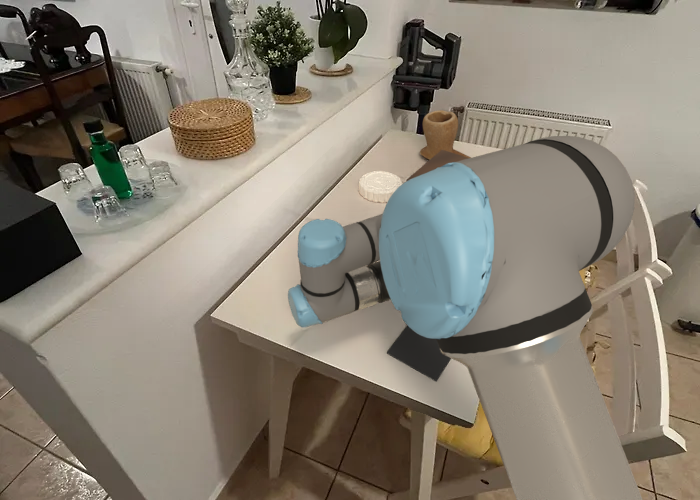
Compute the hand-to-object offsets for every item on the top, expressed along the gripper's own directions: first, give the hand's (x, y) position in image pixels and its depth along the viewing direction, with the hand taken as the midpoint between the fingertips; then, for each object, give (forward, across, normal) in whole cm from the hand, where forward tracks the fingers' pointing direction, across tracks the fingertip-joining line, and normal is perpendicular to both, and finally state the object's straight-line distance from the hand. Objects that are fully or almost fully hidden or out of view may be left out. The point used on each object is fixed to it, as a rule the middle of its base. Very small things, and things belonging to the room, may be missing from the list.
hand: (472, 252), depth 87 cm
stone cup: (+25, -47, -8) cm, 54 cm away
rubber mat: (-17, +11, -8) cm, 23 cm away
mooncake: (0, -39, -8) cm, 40 cm away
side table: (+8, -17, -8) cm, 21 cm away
